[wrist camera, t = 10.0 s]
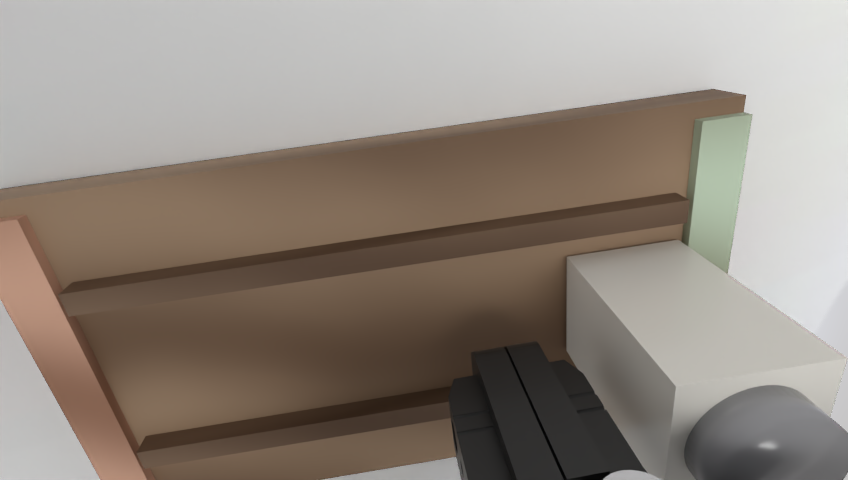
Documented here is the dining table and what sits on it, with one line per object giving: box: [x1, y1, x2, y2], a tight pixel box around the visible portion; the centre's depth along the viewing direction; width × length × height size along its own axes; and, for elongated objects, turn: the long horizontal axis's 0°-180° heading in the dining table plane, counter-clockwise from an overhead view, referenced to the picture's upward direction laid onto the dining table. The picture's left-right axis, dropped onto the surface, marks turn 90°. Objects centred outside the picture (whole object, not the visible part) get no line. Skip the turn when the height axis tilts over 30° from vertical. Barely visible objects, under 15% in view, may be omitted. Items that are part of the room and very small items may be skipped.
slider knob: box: [566, 240, 848, 480], centre depth 11 cm, size 3×3×6 cm
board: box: [0, 89, 752, 480], centre depth 13 cm, size 10×18×2 cm, turn 97°
